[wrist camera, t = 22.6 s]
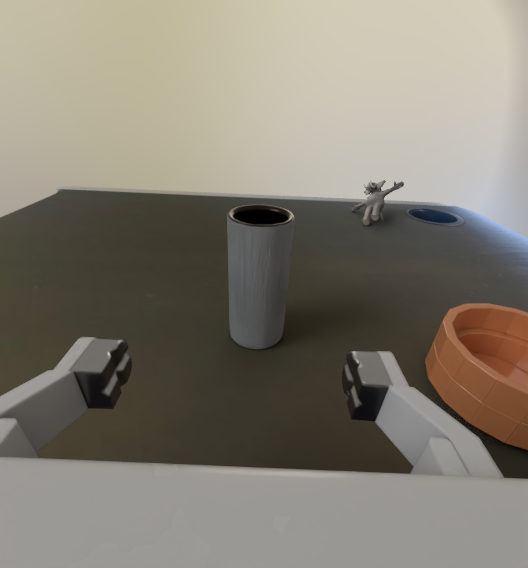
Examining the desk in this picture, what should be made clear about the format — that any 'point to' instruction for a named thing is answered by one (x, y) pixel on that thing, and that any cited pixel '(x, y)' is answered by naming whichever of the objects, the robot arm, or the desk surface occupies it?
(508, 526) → the robot arm
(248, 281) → the tall grey cup
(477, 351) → the bowl
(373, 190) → the grey figurine
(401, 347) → the desk surface
